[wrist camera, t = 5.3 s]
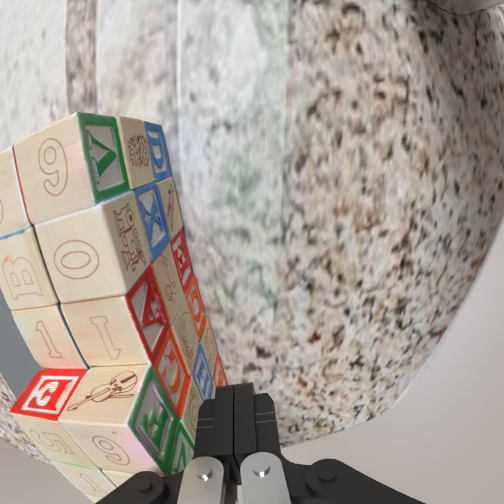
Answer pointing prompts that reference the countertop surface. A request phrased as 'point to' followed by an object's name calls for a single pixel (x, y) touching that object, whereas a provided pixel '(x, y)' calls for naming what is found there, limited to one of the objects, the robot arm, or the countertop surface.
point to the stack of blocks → (104, 301)
